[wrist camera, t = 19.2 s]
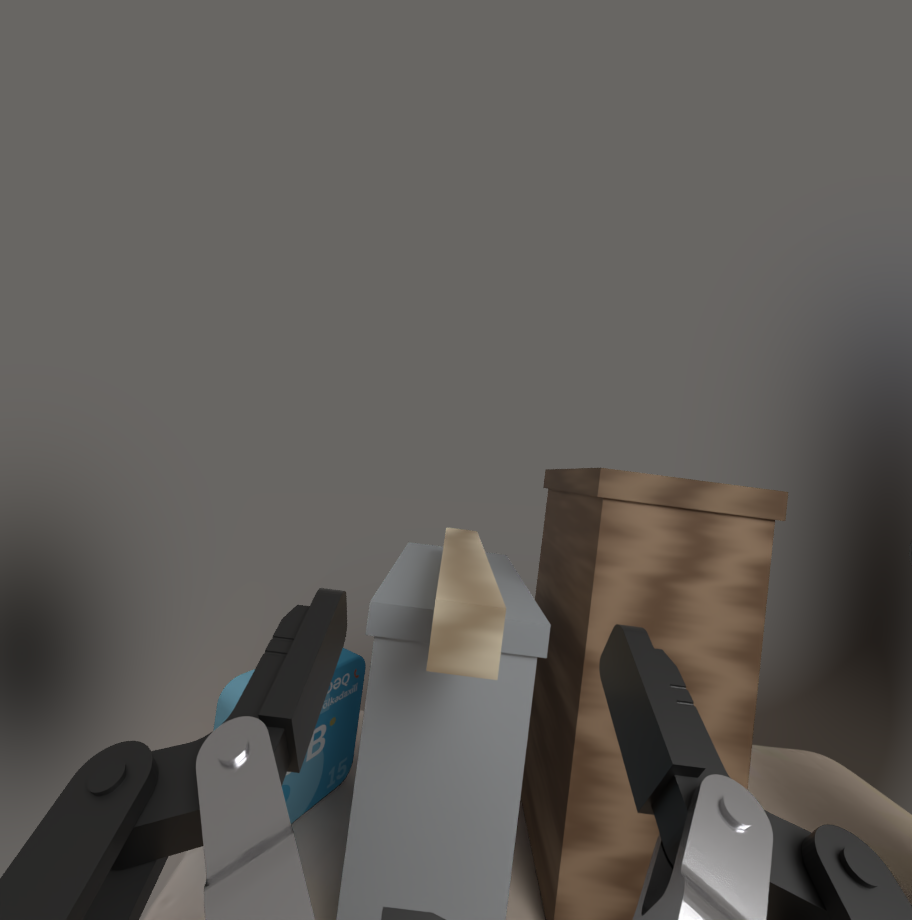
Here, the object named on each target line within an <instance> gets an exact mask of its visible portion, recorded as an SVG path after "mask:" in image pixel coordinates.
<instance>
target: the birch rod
mask: <svg viewBox="0 0 912 920" xmlns="http://www.w3.org/2000/svg"><path fill="white" fill-rule="evenodd" d="M505 615H506V606H505V604H504V601H503V598H502V596H501V593H500V590H499V588H498V585H497V583H496V580H495V577H494V575H493V572H492V569H491V567H490V564H489V562H488V559H487V556H486V554H485V551H484V548H483V546H482V543H481V541H480V538H479V535H478V533H477V531H470V530H462V529H455V528H446V534H445V541H444V547H443V553H442V560H441V567H440V573H439V580H438V586H437V593H436V599H435V607H434V615H433V623H432V630H431V638H430V646H429V653H428V661H427V669H426V671H429V672H437V673H445V674H452V675H460V676H468V677H475V678H483V679H491V680H498V671H499V663H500V655H501V647H502V639H503V631H504V623H505Z"/></svg>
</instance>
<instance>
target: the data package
mask: <svg viewBox="0 0 912 920" xmlns="http://www.w3.org/2000/svg"><path fill="white" fill-rule="evenodd" d="M254 671H255V669H254V670H252V671H249V672H246V673H244V674H241V675H239V676H237V677H235V678H234V679H233V680H231V681H230V682H229V683H228V684H227V686H226V687H225V688H224V689H223V691H222V693H221V694H220V697H219V699H218V703H217V711H216V717H215V724H214V730H215V729H216V728H218V727H219V726H220V725H221V724H222V723H223V722H224V721H225V720H226V719H227V718H228V717H229V715H230V714H231V713H232V711H233V709H234V708H235V706H236V704H237V702H238V700H239V698H240V697H241V695H242V693H243V691H244V689H245V687H246V685H247V684H248V682H249V680H250V678H251V676H252V674H253V672H254ZM364 674H365V661H364V659H363V658H362V657H361V656H360V655H357V654H355V653H353V652H351V651H349V650H347V649H344V648H343V649H342V652H341V654H340V657H339V660H338V663H337V666H336V669H335V672H334V675H333V678H332V680H331V683H330V686H329V689H328V692H327V695H326V698H325V701H324V704H323V706H322V709H321V712H320V715H319V718H318V721H317V724H316V727H315V730H314V732H313V735H312V738H311V741H310V744H309V747H308V750H307V753H306V756H305V758H304V761H303V764H302V767H301V770H300V773H295V772H287V773H286V776H285V779H284V781H283V784H282V790H283V794H284V798H285V802H286V807H287V811H288V815H289V819H290V823H293V822H294V821H295V820H296V819H298V818H299V817H300V816H301V815H303V814H304V813H305V812H306V811H308V810H309V809H310V808H311V807H312V806H314V805H315V804H316V803H317V802H319V801H320V800H321V799H322V798H324V797H325V796H326V795H327V794H329V793H330V792H331V791H332V790H334V789H335V788H336V787H337V786H338V785H340V784H341V783H342V782H343V780H344V779H345V778H346V776H347V774H348V773H349V771H350V768H351V766H352V762H353V756H354V749H355V741H356V734H357V727H358V719H359V712H360V704H361V697H362V689H363V681H364Z"/></svg>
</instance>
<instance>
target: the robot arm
mask: <svg viewBox="0 0 912 920" xmlns="http://www.w3.org/2000/svg"><path fill="white" fill-rule="evenodd" d="M909 557H910V562H911V566H912V541H911V544H910V550H909ZM346 631H347V603H346V592H345V591H340V590H332V589H324V588H320V589H319V590H318V591H317V593H316V595H315V597H314V599H313V601H312V603H311V605H310V606H303V605H297V606H296V607H295V608H293V609H292V610H291V611H290V612H289V613H288V614H287V615H286V616H285V617H284V618H283V619H282V620H281V622H280V624H279V626H278V628H277V629H276V631H275V633H274V635H273V639H272V640H271V641H270V643H269V644H268V646H267V648H266V650H265V654H263V656H262V657H261V659H260V661H259V663H258V665H257V667H256V669H255V671H254V672H253V674H252V676H251V678H250V680H249V682H248V684H247V685H246V687H245V689H244V691H243V693H242V695H241V697H240V698H239V700H238V702H237V704H236V706H235V708H234V709H233V711H232V713H231V714H230V715H229V717H228V718H227V719H226V720H225V721H224V722H223V723H222V724H221V725H220V726H219V727H218V728H216V729H215V730H214V731H213V732H211V733H210V734H208V735H207V736H205V737H203V738H201V739H199V740H197V741H194V742H190V743H187V744H182V745H178V746H173V747H169V748H164V749H160V750H155V751H151V750H150V749H149V748H148V746H146V745H145V744H144V743H141V742H138V741H126V742H121V743H118V744H115V745H113V746H110V747H108V748H106V749H104V750H103V751H101V752H99V753H98V754H96V755H95V756H93V757H92V758H91V759H90V760H88V761H87V762H86V763H85V764H84V765H83V766H82V767H81V768H80V769H79V770H78V772H77V773H76V774H75V775H74V776H73V778H72V779H71V781H70V782H69V783H68V785H67V786H66V788H65V789H64V790H63V792H62V793H61V794H60V796H59V797H58V799H57V800H56V801H55V803H54V805H53V806H52V807H51V809H50V810H49V811H48V813H47V814H46V816H45V817H44V818H43V820H42V821H41V822H40V824H39V825H38V827H37V828H36V829H35V831H34V832H33V834H32V835H31V836H30V838H29V839H28V841H27V842H26V843H25V845H24V846H23V848H22V849H21V851H20V852H19V853H18V855H17V856H16V857H15V859H14V860H13V862H12V863H11V864H10V866H9V867H8V869H7V870H6V872H5V873H4V874H3V876H2V877H1V878H0V920H139V918H140V916H141V914H142V912H143V910H144V908H145V905H146V903H147V901H148V899H149V897H150V895H151V893H152V890H153V888H154V886H155V884H156V882H157V880H158V877H159V875H160V873H161V871H162V869H163V867H164V865H165V862H166V860H167V858H168V856H171V855H174V854H177V853H181V852H184V851H188V850H191V849H194V848H198V847H201V846H204V855H205V865H206V884H205V887H204V908H205V920H315V918H314V914H313V910H312V906H311V901H310V897H309V893H308V889H307V885H306V881H305V877H304V873H303V869H302V865H301V861H300V857H299V853H298V848H297V844H296V840H295V837H294V833H293V829H292V826H291V823H290V819H289V815H288V811H287V807H286V802H285V798H284V794H283V790H282V784H283V781H284V779H285V776H286V773H287V772H295V773H300V770H301V767H302V764H303V761H304V758H305V756H306V753H307V750H308V747H309V744H310V741H311V738H312V735H313V732H314V730H315V727H316V724H317V721H318V718H319V715H320V712H321V709H322V706H323V704H324V701H325V698H326V695H327V692H328V689H329V686H330V683H331V680H332V678H333V675H334V672H335V669H336V666H337V663H338V660H339V657H340V654H341V652H342V649H343V645H344V642H345V637H346ZM599 672H600V678H601V682H602V686H603V689H604V693H605V697H606V700H607V704H608V708H609V711H610V715H611V718H612V722H613V726H614V729H615V733H616V736H617V740H618V744H619V747H620V751H621V755H622V758H623V762H624V765H625V769H626V773H627V776H628V780H629V783H630V787H631V791H632V794H633V798H634V802H635V805H636V809H637V812H638V813H642V814H650V815H654V816H655V819H656V823H657V826H658V829H659V835H658V838H657V841H656V844H655V848H654V851H653V854H652V858H651V861H650V864H649V868H648V871H647V874H646V878H645V881H644V884H643V888H642V891H641V894H640V898H639V901H638V905H637V908H636V911H635V914H634V917H633V920H912V906H911V904H910V902H909V901H908V899H907V898H906V896H905V894H904V893H903V891H902V889H901V888H900V886H899V885H898V883H897V881H896V880H895V878H894V876H893V875H892V873H891V872H890V870H889V869H888V868H887V866H886V865H885V864H884V862H883V861H882V860H881V859H880V858H879V857H878V855H877V854H876V853H875V852H874V851H873V850H872V849H871V848H870V847H869V846H868V845H866V844H865V843H864V842H863V841H862V840H860V839H859V838H858V837H856V836H855V835H853V834H852V833H850V832H848V831H847V830H845V829H843V828H840V827H838V826H834V825H822V826H820V827H819V828H817V829H816V830H815V831H814V832H812V833H811V832H809V831H807V830H805V829H802V828H800V827H798V826H796V825H794V824H792V823H790V822H788V821H786V820H783V819H781V818H779V817H777V816H775V815H773V814H771V813H769V812H767V811H765V810H763V808H762V806H761V805H760V804H759V802H758V801H757V800H756V799H755V797H754V796H753V795H752V794H751V793H750V792H749V791H748V790H747V789H746V788H744V787H743V786H742V785H741V784H739V783H738V782H736V781H735V780H733V779H731V778H730V777H729V775H728V774H727V772H726V770H725V768H724V766H723V764H722V762H721V760H720V757H719V755H718V753H717V751H716V749H715V747H714V745H713V742H712V740H711V738H710V736H709V734H708V732H707V730H706V727H705V725H704V723H703V721H702V719H701V717H700V715H699V712H698V710H697V708H696V706H694V704H693V703H694V702H693V700H692V697H691V695H690V693H689V691H688V690H686V685H685V682H684V680H683V678H682V676H681V674H680V672H679V670H678V668H677V666H676V665H675V664H674V663H673V661H672V660H671V659H670V658H669V657H668V655H667V654H666V653H665V652H664V651H663V650H662V649H655V648H654V647H653V645H652V642H651V640H650V638H649V635H648V633H647V631H646V630H645V629H644V628H642V627H635V626H627V625H619V624H616V625H615V626H614V627H613V630H612V632H611V634H610V636H609V638H608V641H607V643H606V645H605V647H604V650H603V652H602V654H601V657H600V662H599ZM381 920H446V919H444V918H442V917H440V916H438V915H436V914H434V913H432V912H423V911H415V910H407V909H399V908H391V907H383V910H382V916H381Z"/></svg>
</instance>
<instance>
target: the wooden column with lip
mask: <svg viewBox="0 0 912 920" xmlns="http://www.w3.org/2000/svg"><path fill="white" fill-rule="evenodd" d="M544 488H548V497H547V505H546V513H545V521H544V530H543V538H542V546H541V554H540V563H539V571H538V579H537V587H536V596H535V601H536V603H537V604H538V606H539V607H540V609H541V610H542V612H543V614H544V615H545V617H546V618H547V620H548V621H549V623H550V625H551V627H550V635H549V643H548V652H547V658H541V657H537V664H536V673H535V681H534V689H533V698H532V706H531V714H530V722H529V731H528V739H527V747H526V755H525V764H524V772H523V780H522V788H521V800H522V805H523V810H524V815H525V820H526V825H527V830H528V834H529V839H530V844H531V849H532V854H533V859H534V864H535V868H536V873H537V878H538V883H539V888H540V893H541V898H542V902H543V907H544V912H545V917H546V920H633V917H634V914H635V911H636V908H637V905H638V901H639V898H640V894H641V891H642V888H643V884H644V881H645V878H646V874H647V871H648V868H649V864H650V861H651V858H652V854H653V851H654V848H655V844H656V841H657V838H658V835H659V829H658V826H657V823H656V819H655V816H654V815H650V814H642V813H638V812H637V809H636V805H635V802H634V798H633V794H632V791H631V787H630V783H629V780H628V776H627V773H626V769H625V765H624V762H623V758H622V755H621V751H620V747H619V744H618V740H617V736H616V733H615V729H614V726H613V722H612V718H611V715H610V711H609V708H608V704H607V700H606V697H605V693H604V689H603V686H602V682H601V678H600V672H599V662H600V657H601V654H602V652H603V650H604V647H605V645H606V643H607V641H608V638H609V636H610V634H611V632H612V630H613V627H614V626H615V625H616V624H619V625H627V626H635V627H642V628H644V629H645V630H646V631H647V633H648V635H649V638H650V640H651V642H652V645H653V647H654V648H655V649H662V650H663V651H664V652H665V653H666V654H667V655H668V657H669V658H670V659H671V660H672V661H673V663H674V664H675V665H676V666H677V668H678V670H679V672H680V674H681V676H682V678H683V680H684V682H685V685H686V690H688V691H689V693H690V695H691V697H692V700H693V702H694V703H693V704H694V706H696V708H697V710H698V712H699V715H700V717H701V719H702V721H703V723H704V725H705V727H706V730H707V732H708V734H709V736H710V738H711V740H712V742H713V745H714V747H715V749H716V751H717V753H718V755H719V757H720V760H721V762H722V764H723V766H724V768H725V770H726V772H727V774H728V775H729V777H730V778H731V779H733V780H735V781H736V782H738V783H739V784H741V785H742V786H743V787H744V788H746V789H747V788H748V778H749V769H750V759H751V749H752V739H753V730H754V720H755V710H756V700H757V691H758V681H759V671H760V660H761V652H762V641H763V632H764V622H765V613H766V603H767V593H768V583H769V574H770V564H771V555H772V545H773V535H774V525H775V520H782V521H785V519H786V509H787V499H788V492H783V491H776V490H768V489H760V488H752V487H744V486H737V485H729V484H721V483H713V482H706V481H698V480H691V479H683V478H675V477H668V476H659V475H651V474H645V473H637V472H629V471H621V470H613V469H606V468H581V469H555V470H554V469H553V470H546V471H545V479H544Z"/></svg>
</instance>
